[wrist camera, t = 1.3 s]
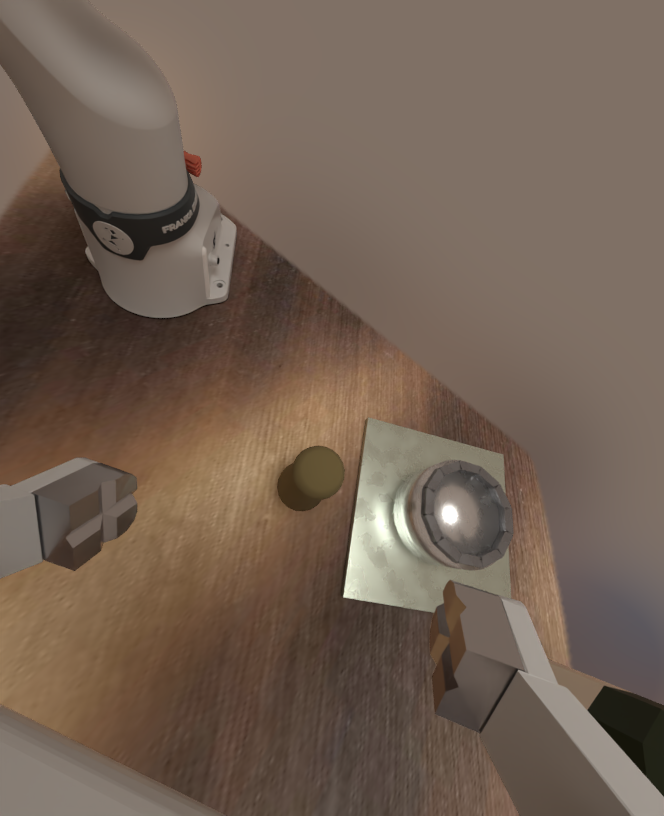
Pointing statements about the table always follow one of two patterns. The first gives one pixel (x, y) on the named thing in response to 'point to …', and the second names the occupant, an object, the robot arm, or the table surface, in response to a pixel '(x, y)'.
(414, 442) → the duct stub
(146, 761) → the table surface
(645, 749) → the wine bottle
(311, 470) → the cork
